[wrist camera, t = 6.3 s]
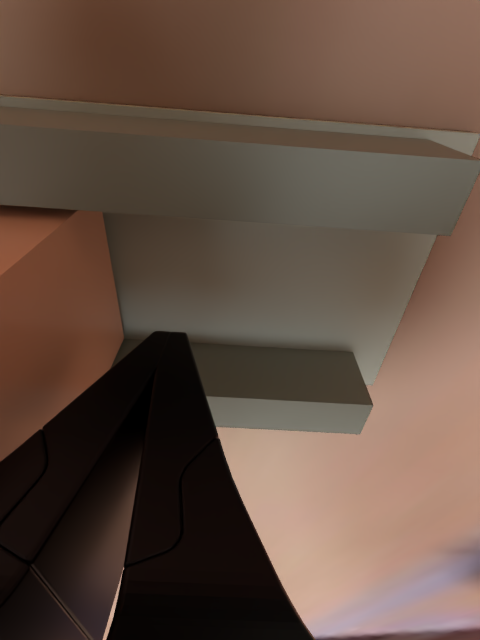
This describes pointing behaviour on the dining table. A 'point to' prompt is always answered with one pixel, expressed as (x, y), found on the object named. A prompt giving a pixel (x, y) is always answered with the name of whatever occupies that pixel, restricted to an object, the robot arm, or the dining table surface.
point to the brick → (52, 314)
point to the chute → (251, 239)
